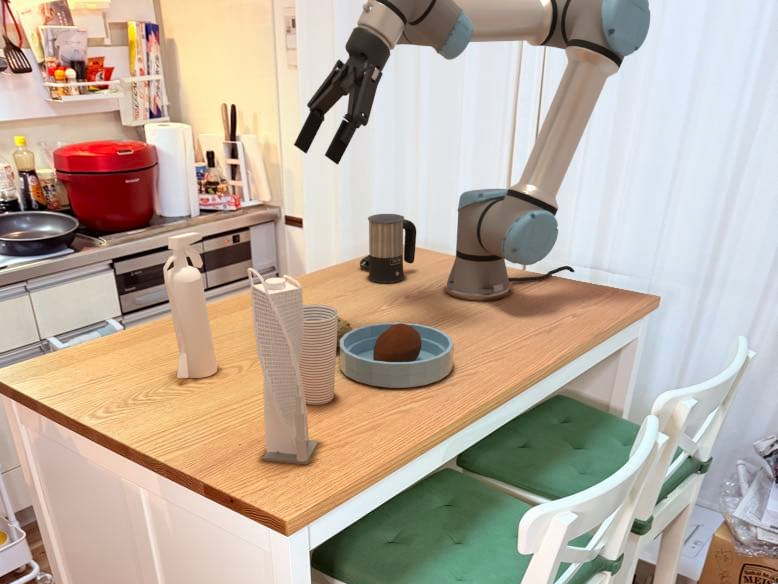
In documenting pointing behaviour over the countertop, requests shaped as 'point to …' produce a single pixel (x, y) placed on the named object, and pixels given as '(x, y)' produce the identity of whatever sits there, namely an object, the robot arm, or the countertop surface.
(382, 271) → the milk frother
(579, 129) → the robot arm
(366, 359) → the bowl
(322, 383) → the cup
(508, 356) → the countertop surface
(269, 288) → the skyscraper
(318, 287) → the countertop surface
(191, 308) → the fire extinguisher
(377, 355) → the potato
